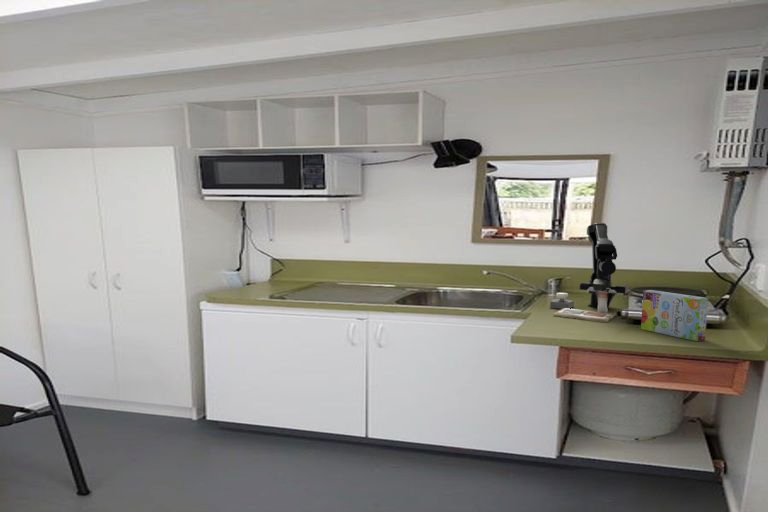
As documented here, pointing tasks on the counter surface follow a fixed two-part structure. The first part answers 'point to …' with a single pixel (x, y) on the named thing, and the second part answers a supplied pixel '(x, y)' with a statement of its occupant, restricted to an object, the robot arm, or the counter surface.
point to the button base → (561, 304)
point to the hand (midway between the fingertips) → (602, 307)
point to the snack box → (674, 314)
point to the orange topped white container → (602, 302)
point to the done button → (562, 296)
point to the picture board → (585, 315)
